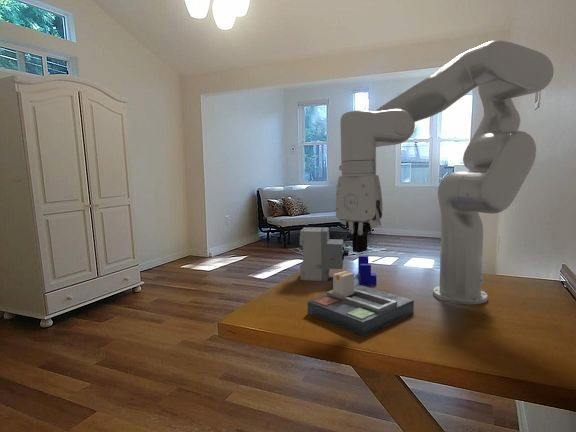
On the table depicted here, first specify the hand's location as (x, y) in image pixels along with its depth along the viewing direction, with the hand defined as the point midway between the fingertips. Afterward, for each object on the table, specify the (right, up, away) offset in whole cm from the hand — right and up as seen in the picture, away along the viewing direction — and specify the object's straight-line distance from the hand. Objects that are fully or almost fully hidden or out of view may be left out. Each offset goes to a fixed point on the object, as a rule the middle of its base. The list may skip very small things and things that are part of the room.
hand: (359, 251), depth 82 cm
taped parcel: (-3, -11, +5) cm, 12 cm away
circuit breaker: (-5, -11, +31) cm, 33 cm away
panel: (0, -14, +1) cm, 14 cm away
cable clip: (+8, -12, +28) cm, 31 cm away
